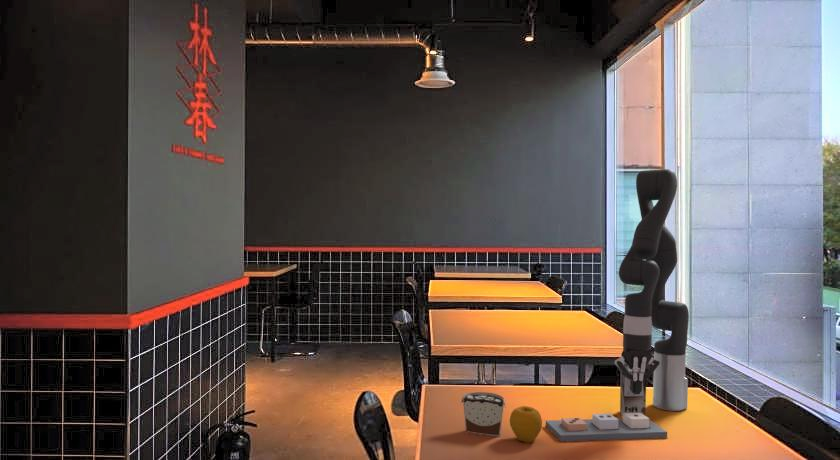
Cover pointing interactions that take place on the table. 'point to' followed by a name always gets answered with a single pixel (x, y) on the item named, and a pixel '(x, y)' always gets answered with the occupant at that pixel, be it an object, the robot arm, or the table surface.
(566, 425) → the tile three
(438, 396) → the table surface
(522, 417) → the apple
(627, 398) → the coffee box
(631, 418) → the tile one
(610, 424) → the tile two
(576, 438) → the button board
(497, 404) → the food container
